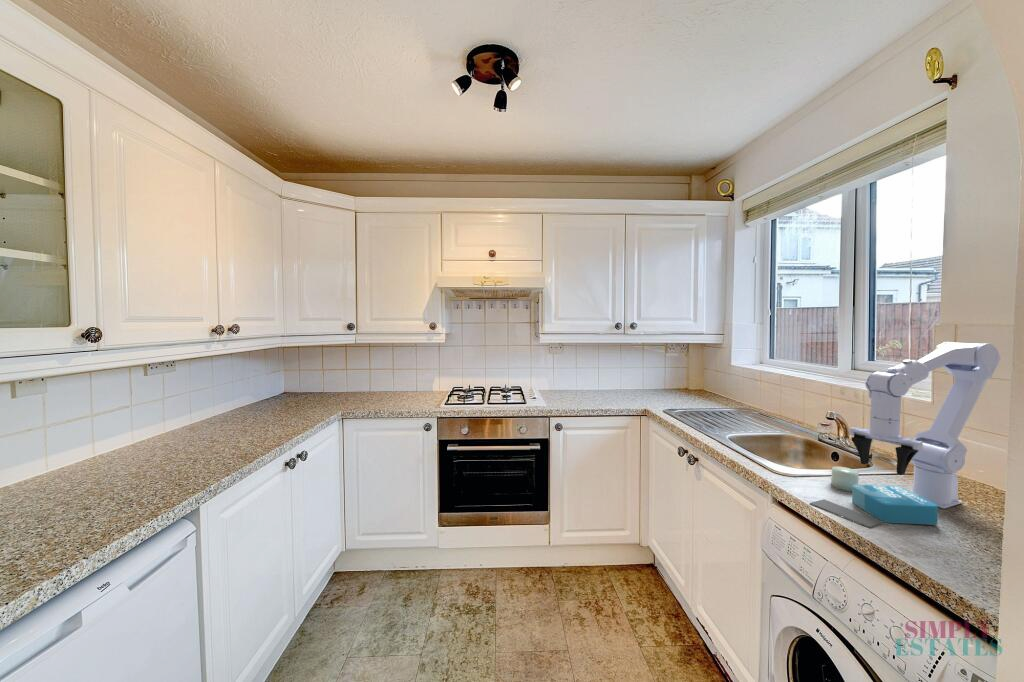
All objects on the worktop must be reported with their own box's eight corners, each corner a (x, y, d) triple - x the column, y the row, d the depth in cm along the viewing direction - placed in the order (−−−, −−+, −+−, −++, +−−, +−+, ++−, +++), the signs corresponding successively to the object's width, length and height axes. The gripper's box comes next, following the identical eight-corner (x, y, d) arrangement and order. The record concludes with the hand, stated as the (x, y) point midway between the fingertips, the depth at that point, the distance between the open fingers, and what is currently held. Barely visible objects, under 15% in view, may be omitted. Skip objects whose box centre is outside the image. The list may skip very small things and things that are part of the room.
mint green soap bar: (838, 481, 118) (839, 465, 118) (862, 489, 113) (863, 472, 112) (826, 484, 116) (827, 468, 116) (850, 492, 110) (850, 475, 110)
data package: (849, 484, 105) (900, 485, 103) (849, 500, 105) (900, 502, 103) (883, 504, 93) (941, 506, 91) (883, 523, 94) (941, 525, 91)
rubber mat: (824, 500, 105) (824, 499, 105) (884, 523, 93) (884, 522, 93) (809, 504, 103) (809, 502, 103) (869, 528, 91) (869, 526, 91)
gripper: (843, 413, 108) (841, 461, 109) (912, 426, 95) (909, 481, 95) (859, 411, 111) (856, 458, 111) (928, 423, 97) (925, 477, 98)
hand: (882, 468), depth 103 cm, fingers open, 7 cm apart
